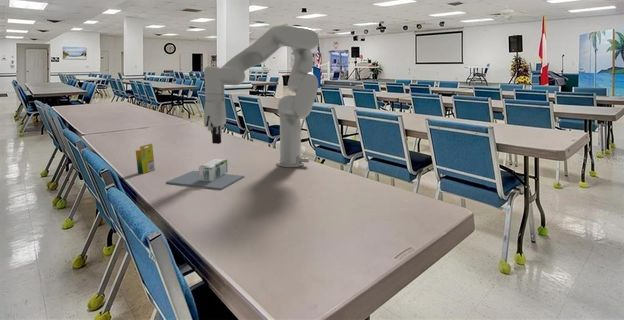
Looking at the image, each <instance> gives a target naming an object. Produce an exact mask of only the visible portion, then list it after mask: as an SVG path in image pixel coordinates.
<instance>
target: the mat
mask: <svg viewBox="0 0 624 320" xmlns="http://www.w3.org/2000/svg"><path fill="white" fill-rule="evenodd" d="M244 178H245V175H241V174H240V175H239V174H231V173H229V174H228V173H225V174H224V175H222V176H220V177H219V178H217V179H215V180H214V181H201V180H199V170H191V171H189V172H187V173H183V174H182V175H180V176H176V177H174V178H172V179H169V180H167V181H165V184H170V185H176V186H185V187H194V188H195V187H196V188H202V189H211V190H219V191H222V190H224V189H225V188H227V187H229V186H231V185H233V184H235V183H236V182H238V181H241V180H242V179H244Z"/></svg>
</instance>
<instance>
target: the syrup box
mask: <svg viewBox="0 0 624 320" xmlns="http://www.w3.org/2000/svg"><path fill="white" fill-rule="evenodd" d="M228 163H229V162H228V159H227V158H226V159H225V158H224V159H223V158H214V159H212V160H210V161H208V162H206V163H204V164H202V165H199V166H198V171H199V180H201V181H214V180H215V179H217V178H219V177H220V176H222V175H224V174H228V169H229V168H228V167H229V166H228Z"/></svg>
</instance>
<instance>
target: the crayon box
mask: <svg viewBox="0 0 624 320" xmlns="http://www.w3.org/2000/svg"><path fill="white" fill-rule="evenodd" d="M135 156H136V167H137V168H136V169H137V173H138V174H142V175H143V174H146V173H149V172H151V171H155V170H156V168H155V159H154V158H155V157H154V148H153V143H149V144H145V145H141V146H140V147H139V149H137V150H135Z"/></svg>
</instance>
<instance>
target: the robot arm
mask: <svg viewBox="0 0 624 320" xmlns="http://www.w3.org/2000/svg"><path fill="white" fill-rule="evenodd" d="M319 40H320V38H319V34H318V32H316V30H314V29H312V28H308V27H301V26H296V25H289V24H280V25H275V26H272V27H270V28H269V29H268V30H267V31H266V32H264V33H263V34H262V35H261V36H260V37H259V38H257V39H256V40H255V41H254V42H253V43H252V44H250V45H249V46H248V47H246V48H244V49H243V50H242V51H240V52H239V53H237V54H235V56H233V57H232V58H230V59H229V60H228V61H226V63H224V65H222V66H213V65H211V66H209V65H208V66H206V67H204V69H203V70H204V71H203V72H204V73H203V74H204V92H205V93H204V96H205V102H204V105H203V106H204V109H203V125H204V127H206V128H207V131H210V133H211V139H212V140H211V141H212V142H211V143H212V144H215V145H219V144H221V143H222V132H223V129H224V128H225V125H226V124H227V112H226V111H227V110H226V103H225V102H226V97H225V85H227V86H228V85H231V86H239V85H242V84H243V83H244V82H245V80H246V79H245V78H246V73H245V71H247V70H249V69H251V68H253V67H255V66H259V65H261V64H263V63H264V62H266V61H267V60H268V59H269V58H270V57H272V56H273V55H274V54H275V53H276V52H277V51H278V50H279V49H281V48H283V47H290V48H291V50H292V52H293V55H294V56H293V57H294V60H293V64H292V68H291V71H290V73H289V78H288V81H287V88H288V90H289V91H290V92H292V93H293V95H291V94H290V95H289V94H287V95H284V96H282V97H281V98H280V99H279V100H278V103H277V112H278V117H279V118H278V119H279V158H280V159H279V160H277V161H276V165H277V166H278V167H282V168H298V167H303V166H304V165H305V163H310V158H309V157H304V156H303V155H304V154H303V153H302V152H301V151H302V148H301V147H302V137H301V136H302V123H301V120H303V119H305V118H307V117H308V116H309V115H310V114H311V111H312V109H313V106H314V102H315V99H316V96H317V94H318V90H319V80H318V78H317V76H316V75H315V74H314V73H312V69H313V66H314V56H313V53H312V50H314V49H315V48H316V47H317V46H318V45H319ZM294 94H295V95H294Z"/></svg>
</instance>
